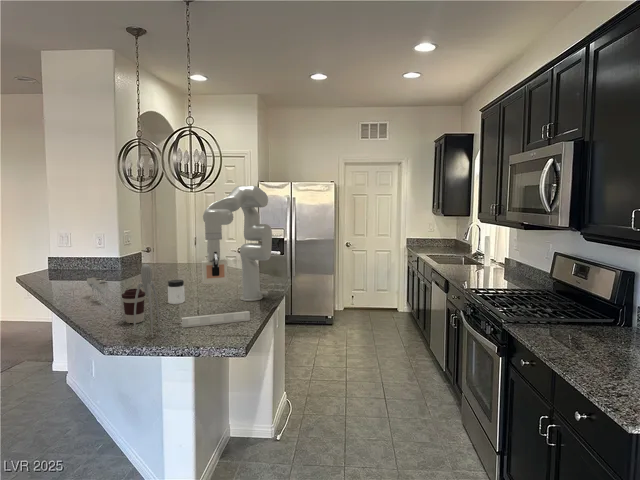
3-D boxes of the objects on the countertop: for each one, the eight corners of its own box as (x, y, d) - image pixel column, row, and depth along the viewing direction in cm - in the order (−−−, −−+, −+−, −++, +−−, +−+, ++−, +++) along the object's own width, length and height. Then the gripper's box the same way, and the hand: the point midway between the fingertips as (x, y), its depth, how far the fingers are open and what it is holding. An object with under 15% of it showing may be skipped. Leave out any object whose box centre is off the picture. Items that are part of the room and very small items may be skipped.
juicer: (138, 331, 188) (135, 262, 185) (160, 330, 188) (157, 261, 186) (130, 338, 177) (126, 265, 175) (153, 337, 178) (149, 265, 175)
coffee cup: (123, 325, 196) (121, 293, 195) (123, 320, 205) (121, 288, 204) (146, 323, 200) (145, 290, 199) (146, 317, 209) (144, 287, 208)
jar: (170, 305, 234) (169, 283, 233) (166, 302, 241) (165, 280, 240) (187, 302, 239) (186, 281, 238) (182, 299, 246) (181, 278, 245)
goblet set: (111, 304, 238) (110, 280, 237) (99, 306, 234) (98, 281, 233) (97, 296, 259) (96, 274, 258) (86, 297, 255) (85, 275, 254)
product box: (202, 281, 206) (201, 260, 205) (225, 280, 210) (225, 259, 209) (203, 284, 200) (203, 262, 199) (227, 282, 204) (227, 261, 203)
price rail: (249, 319, 204) (248, 311, 204) (250, 320, 202) (249, 312, 202) (182, 326, 194) (181, 317, 193) (182, 328, 191) (182, 319, 191)
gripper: (203, 235, 210) (204, 272, 212) (207, 238, 194) (208, 278, 195) (219, 234, 213) (220, 271, 214) (224, 237, 196) (225, 277, 198)
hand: (214, 274), depth 205 cm, fingers closed on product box, 6 cm apart
